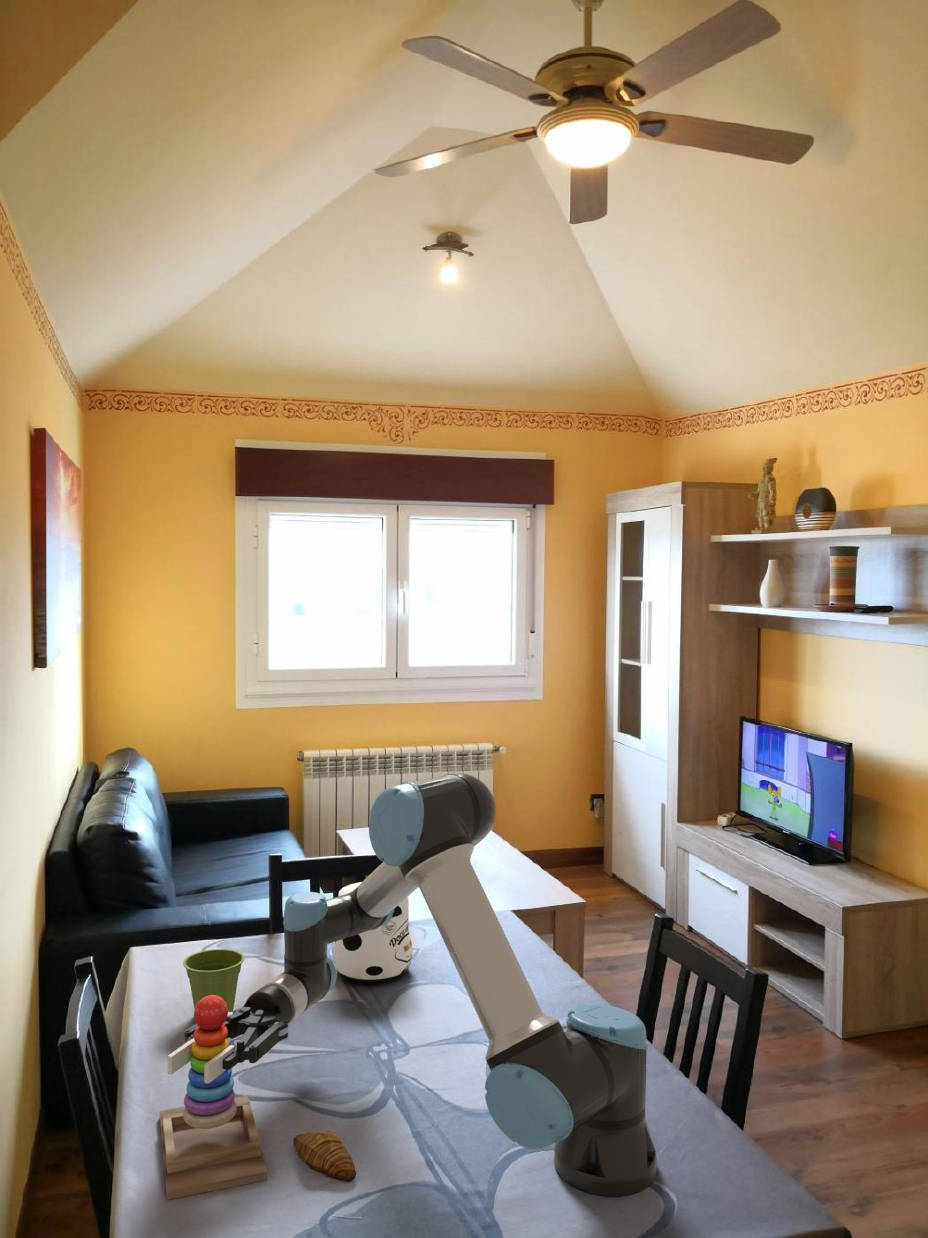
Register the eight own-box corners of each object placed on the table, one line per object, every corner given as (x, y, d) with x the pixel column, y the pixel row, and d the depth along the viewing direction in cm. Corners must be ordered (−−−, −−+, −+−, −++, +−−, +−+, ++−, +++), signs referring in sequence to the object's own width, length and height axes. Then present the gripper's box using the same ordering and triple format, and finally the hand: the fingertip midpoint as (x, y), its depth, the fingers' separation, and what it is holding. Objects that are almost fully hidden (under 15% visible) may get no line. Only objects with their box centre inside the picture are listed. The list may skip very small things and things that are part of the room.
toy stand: (267, 1180, 144) (267, 1162, 144) (167, 1200, 139) (166, 1181, 139) (247, 1102, 164) (247, 1087, 164) (159, 1118, 160) (159, 1102, 160)
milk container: (423, 982, 213) (423, 899, 212) (344, 994, 207) (344, 909, 206) (398, 952, 229) (398, 876, 228) (325, 963, 223) (325, 884, 222)
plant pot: (257, 1010, 199) (257, 955, 198) (214, 1034, 189) (214, 976, 188) (214, 997, 205) (213, 944, 204) (170, 1019, 195) (169, 963, 194)
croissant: (277, 1157, 150) (277, 1125, 150) (313, 1138, 155) (312, 1107, 155) (334, 1196, 141) (334, 1161, 140) (370, 1174, 146) (370, 1141, 145)
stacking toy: (222, 1134, 147) (221, 1011, 146) (173, 1128, 149) (171, 1006, 148) (245, 1106, 155) (243, 989, 154) (197, 1100, 156) (196, 984, 155)
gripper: (323, 1038, 164) (241, 1108, 143) (228, 1017, 171) (137, 1081, 150) (323, 993, 164) (241, 1057, 142) (228, 975, 171) (136, 1033, 150)
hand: (188, 1069), depth 146 cm, fingers closed on stacking toy, 6 cm apart
